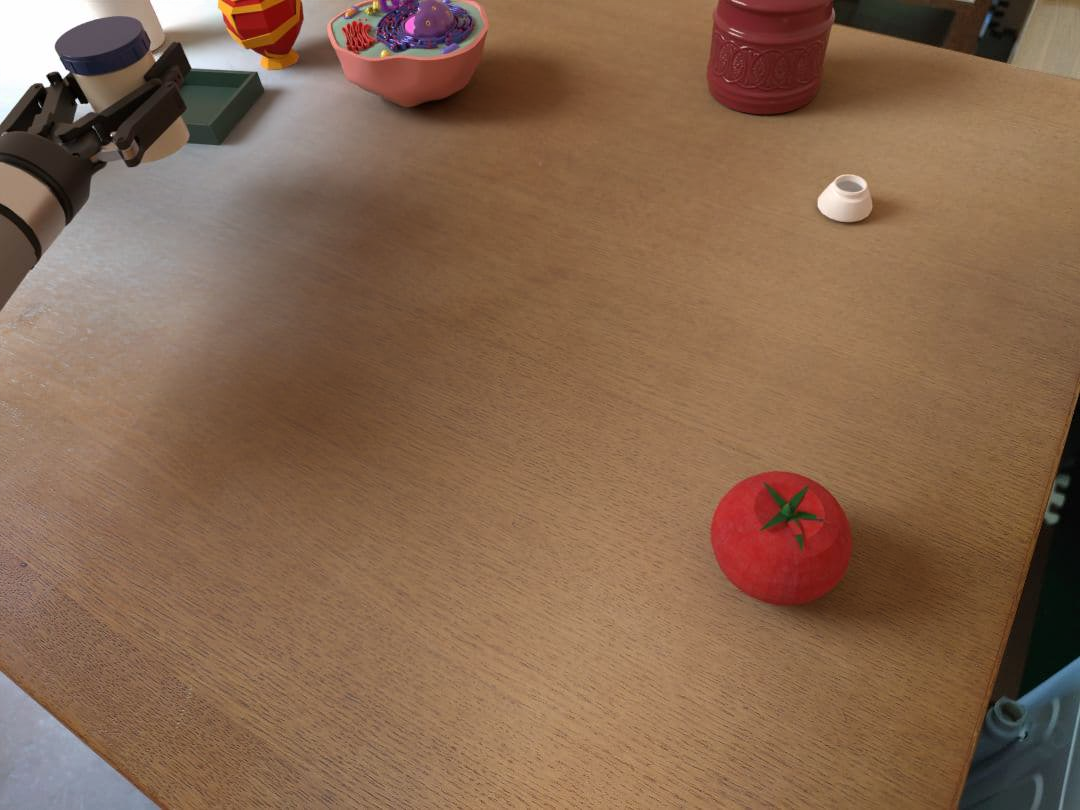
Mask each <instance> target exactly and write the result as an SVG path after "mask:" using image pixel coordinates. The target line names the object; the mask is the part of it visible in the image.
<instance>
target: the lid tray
mask: <svg viewBox="0 0 1080 810" xmlns="http://www.w3.org/2000/svg"><path fill="white" fill-rule="evenodd" d="M191 68H192V69H191V70H190V72H189V73H188V74H187V75H186V77H185V78H184V83H183V84H182V85H181V87H180V88H179V91H180V94H181V96H182V98H183V100H184V102H185V104H186V106H187V109H186V111H185V112H184V113H183V114H182V117H183V120H184V122H185V124H186V126H187V128H188V130H189V134H190V135H189V139H188V141H187V143H188V144H189V143H190V144H202V145H216V146H217V145H218V146H220V145H221V144H222V143H223V141H224V140H225V139H226V138H227V136H229V134H230V133H231V132H232V131H233V129H234V128H235V127H236V126H237V125H238V123H240V121H241V120H242V119H243V117H244V116H245V115H246V114H247V113H248V111H249V110H250V109H251V108H252V107H253V106H254V105H255V103H256V102H257V101H258V99H259V98H260V97H261V96H262V95H263V94H264V92H265V89H264V86H263V83H262V80H261V78H260V74H259V72H258V71H251V70H234V69H233V70H231V69H213V68H195V67H194V68H193V67H191ZM187 143H186V144H187Z"/></svg>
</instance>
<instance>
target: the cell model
mask: <svg viewBox="0 0 1080 810" xmlns="http://www.w3.org/2000/svg"><path fill="white" fill-rule="evenodd" d="M489 27H490V22H489V20H488V18H487V15H486V10H485V8H484V6H483V5H482V4H481V3H479V2H477V1H475V0H365V1H364V0H363V1H361V2H359V3H356V4H354V5H353V6H350V7H349V8H347V9H346V10H344V11H342V12H341V13H339V14H338V15H336V16H334V17H333V18H332V19H331V20H330V21H329V22H328V24H327V26H326V31H327V36H328V39H329V41H330V43H331V46H332V48H333V50H334V51H335V53H336V56H337V58H338V60H339V63H340V66H341V68H342V71H343V74H344V77H345V78H346V80H347V81H348V82H349V83H351V84H353V85H355V86H358V87H359V88H360V89H362V90H364V91H366V92H367V93H369V94H372V95H375V96H377V97H380V98H382V99H384V100H386V101H388V102H391V103H393V104H396V105H398V106H401V107H403V108H414V107H417V106H419V105H422V104H425V103H429V102H436V101H440V100H445V99H446V98H449V97H451V96H452V95H454V94H456V93H458V92H459V91H461V90H463V89H464V88H465V87H467V86H468V84H469V83H470V82H471V80H472V78H473V75H474V73H475V72H476V70H477V68H478V66H479V64H480V62H481V61H482V57H483V54H484V53H483V52H484V49H485V48H484V47H485V43H486V39H487V35H488V30H489Z"/></svg>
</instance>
